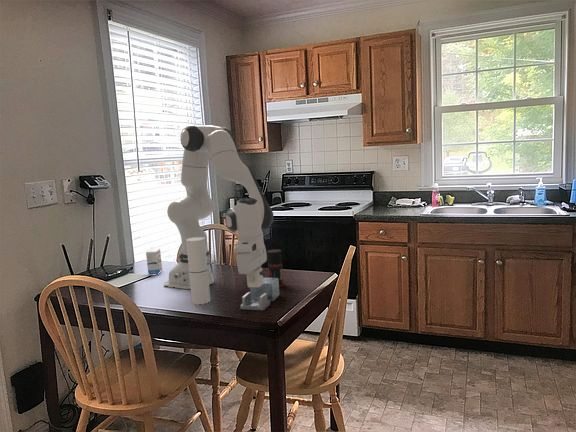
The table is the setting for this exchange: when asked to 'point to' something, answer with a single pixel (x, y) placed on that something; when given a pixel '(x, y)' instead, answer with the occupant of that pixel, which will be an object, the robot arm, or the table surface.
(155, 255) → the ink box
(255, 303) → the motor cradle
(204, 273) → the cylindrical container
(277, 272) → the deodorant
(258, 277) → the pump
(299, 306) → the table surface
